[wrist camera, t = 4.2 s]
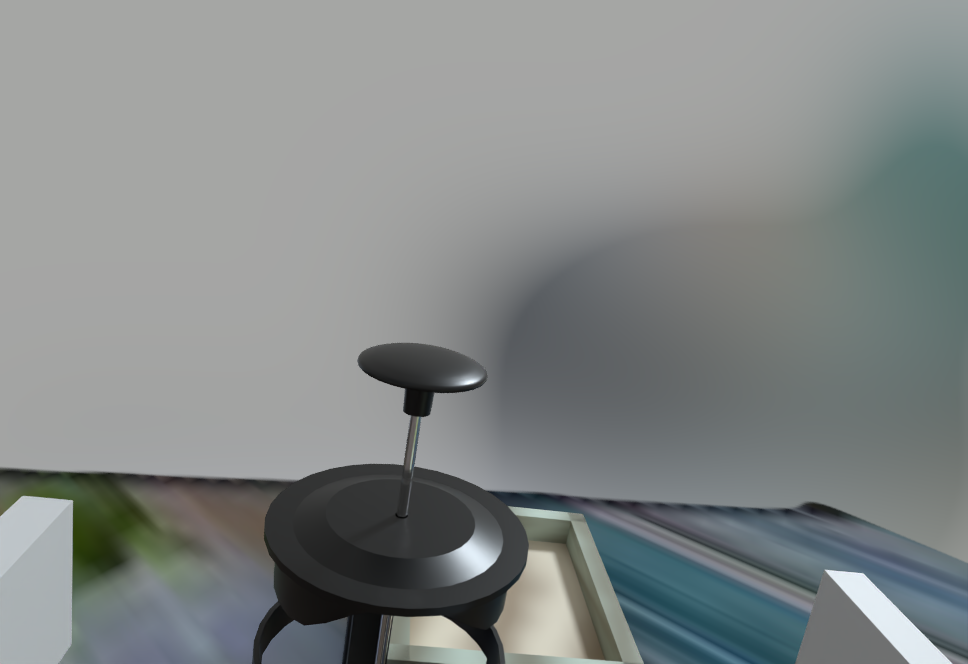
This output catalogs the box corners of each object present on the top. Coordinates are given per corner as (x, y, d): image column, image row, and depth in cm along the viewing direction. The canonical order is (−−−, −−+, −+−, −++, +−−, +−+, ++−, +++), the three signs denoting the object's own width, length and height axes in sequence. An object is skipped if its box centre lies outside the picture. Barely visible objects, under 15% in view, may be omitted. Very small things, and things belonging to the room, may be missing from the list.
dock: (363, 709, 39) (370, 661, 38) (381, 526, 56) (386, 491, 55) (653, 728, 41) (665, 684, 40) (584, 546, 58) (592, 513, 57)
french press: (481, 1041, 25) (618, 437, 19) (196, 1067, 23) (249, 406, 17) (443, 757, 36) (523, 317, 30) (248, 759, 35) (291, 290, 28)
